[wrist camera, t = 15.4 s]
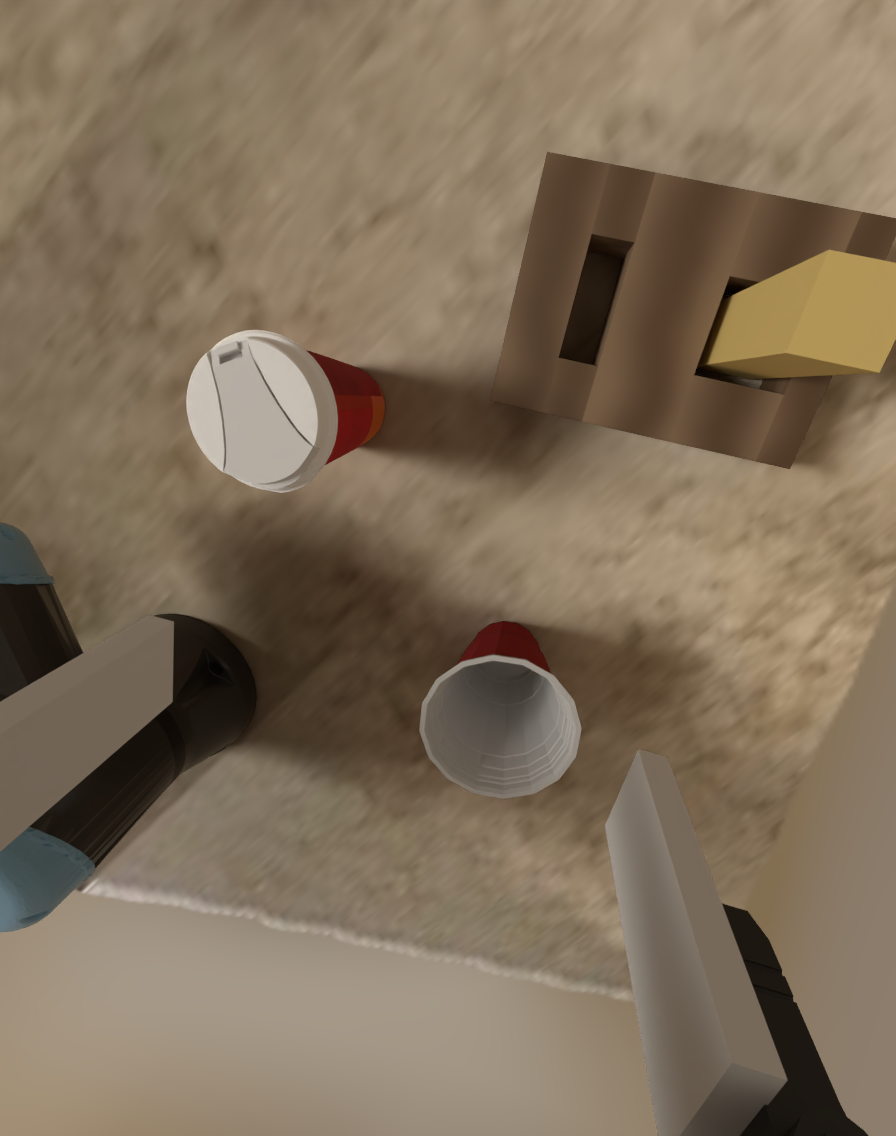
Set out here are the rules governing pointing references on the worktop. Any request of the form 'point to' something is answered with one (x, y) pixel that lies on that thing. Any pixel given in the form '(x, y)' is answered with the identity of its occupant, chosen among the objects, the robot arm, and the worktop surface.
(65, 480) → the worktop surface
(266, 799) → the worktop surface
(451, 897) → the worktop surface
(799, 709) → the worktop surface
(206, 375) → the coffee cup
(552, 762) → the plastic cup
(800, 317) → the square peg
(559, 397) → the socket block
